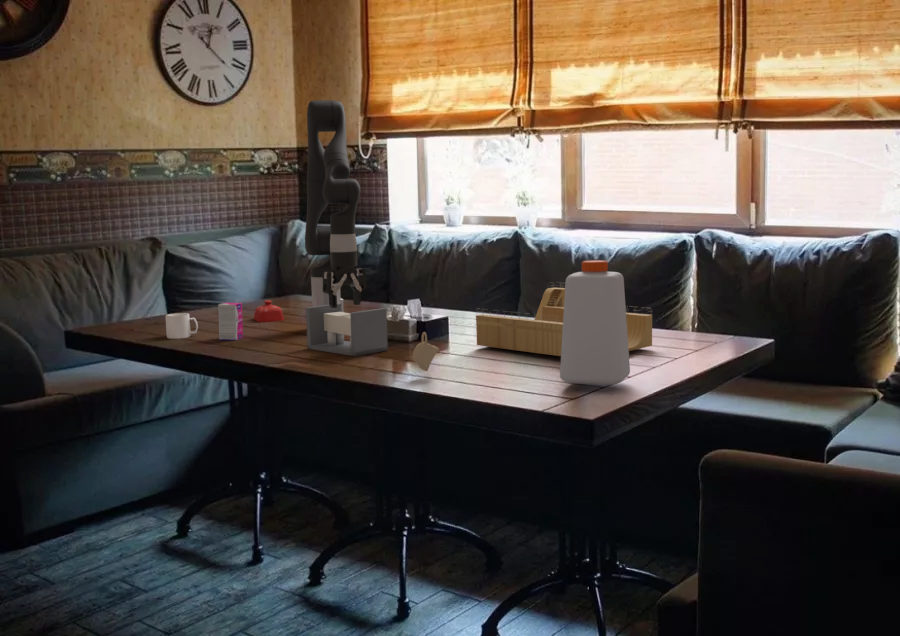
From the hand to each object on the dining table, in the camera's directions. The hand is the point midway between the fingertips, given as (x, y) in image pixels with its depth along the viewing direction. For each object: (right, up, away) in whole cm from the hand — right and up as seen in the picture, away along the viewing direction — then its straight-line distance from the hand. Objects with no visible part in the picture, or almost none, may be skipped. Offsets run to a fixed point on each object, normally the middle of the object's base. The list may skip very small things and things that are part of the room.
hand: (345, 306), depth 290 cm
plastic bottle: (+64, -18, -50) cm, 83 cm away
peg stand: (0, -12, +2) cm, 13 cm away
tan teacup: (+24, -17, -34) cm, 45 cm away
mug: (-55, -10, +31) cm, 64 cm away
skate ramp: (+64, -12, -1) cm, 65 cm away
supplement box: (-38, -10, +25) cm, 47 cm away
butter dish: (-33, -6, +60) cm, 69 cm away
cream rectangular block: (0, -7, +1) cm, 8 cm away
